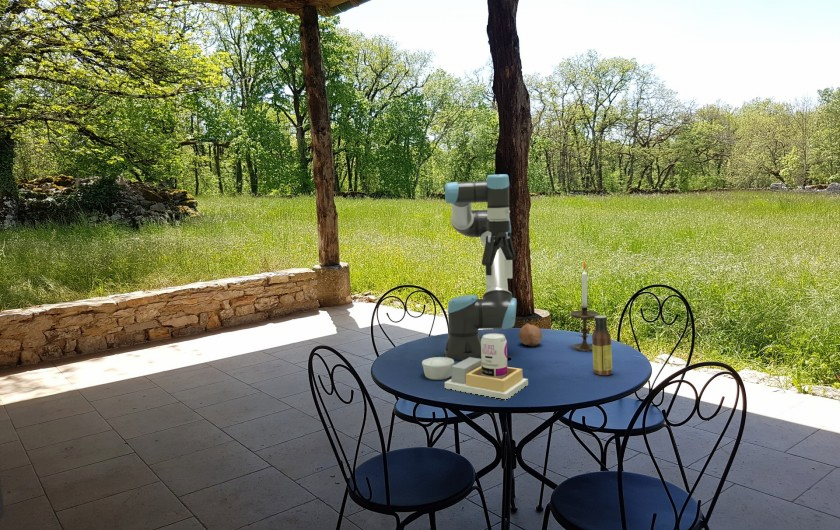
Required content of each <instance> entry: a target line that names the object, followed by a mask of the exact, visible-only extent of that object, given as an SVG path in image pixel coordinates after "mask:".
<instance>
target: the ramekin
mask: <svg viewBox="0 0 840 530" xmlns="http://www.w3.org/2000/svg"><path fill="white" fill-rule="evenodd" d="M421 365H422V368H423V372H424V376H425V377H426V378H427V379H429V380H434V381H435V380H436V381H437V380H438V381H439V380H440V381H441V380H447V379H449V378H452V374H451V366H453V365H455V360H454V359H451V358H447V357H446V356H445V357H444V356H437V357H436V356H435V357H429V358H426V359H423V360H422V361H421Z"/></svg>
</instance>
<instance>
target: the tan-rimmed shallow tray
mask: <svg viewBox="0 0 840 530" xmlns="http://www.w3.org/2000/svg"><path fill="white" fill-rule="evenodd" d="M523 373H524V372H523V368H520V367H519V368H517V367H510V366H507V376H506V377H505V378H503V379H498V378H492V377H486V376H482V364H481V358H472V357H469V358H467V359H465V360H460V361H459V362H457V363H454V365H453V366H451V374H452V375H451V378H450V379H448V380H447V381H444V389H445V388H446V389H445V390H450V389H452V391H455V390H456V391H457V392H460V391H461V392H462V393H465V392H466V394H470V393H472V394H471V395H475V394H478V395H477V396H480V395H484V396H483V397H486V396H489V397H488V398H491V397H495V398H494V399H496V398H501V399H505V400H504V401H507V400H506V399H508V398H509V399H510V398H512V397H513V396H515V395H516V394H517V393H519V392H520V391H522V390H523V389H525V388H526V387H527V386H529V378H525V377H524V376H523V375H524V374H523ZM525 386H526V387H525ZM524 387H525V388H524ZM521 389H522V390H521ZM456 391H455V392H456ZM518 391H519V392H518ZM515 393H516V394H515ZM514 394H515V395H514ZM511 396H512V397H511ZM501 399H500V400H501ZM509 399H508V400H509Z"/></svg>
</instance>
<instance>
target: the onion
mask: <svg viewBox="0 0 840 530" xmlns="http://www.w3.org/2000/svg"><path fill="white" fill-rule="evenodd" d="M518 338H519V341H520V342H521V343H522V344H524V346H527V345H528V347H529V346H530V347H535V346H538V345H539V343H540V342H541V341H542V340H543V333H542V331H541V329H540V327H538V326H536V325H533V324H530V323H528V322H527V323H525V324H524V325H523V326H522V327H521V328H520V330H519V331H518Z"/></svg>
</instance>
